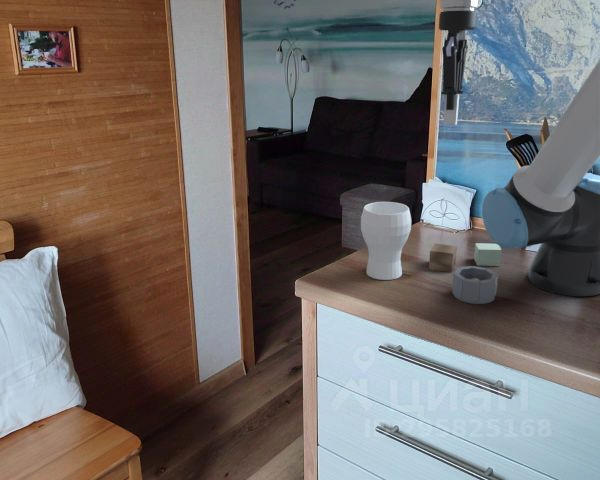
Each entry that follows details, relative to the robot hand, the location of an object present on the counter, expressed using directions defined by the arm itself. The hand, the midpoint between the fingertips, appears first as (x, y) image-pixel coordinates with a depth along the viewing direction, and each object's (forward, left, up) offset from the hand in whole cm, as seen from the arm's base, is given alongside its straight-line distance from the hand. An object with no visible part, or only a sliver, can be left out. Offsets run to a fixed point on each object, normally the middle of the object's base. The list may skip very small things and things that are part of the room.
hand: (450, 124), depth 128 cm
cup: (+8, +18, -31) cm, 36 cm away
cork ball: (-12, +21, -28) cm, 37 cm away
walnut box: (-2, +9, -31) cm, 32 cm away
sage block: (-11, +2, -31) cm, 33 cm away
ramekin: (-12, +21, -30) cm, 39 cm away
